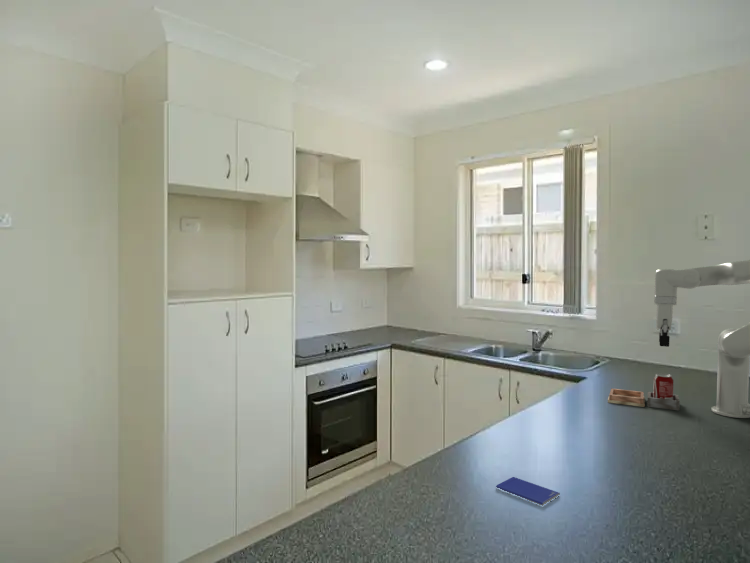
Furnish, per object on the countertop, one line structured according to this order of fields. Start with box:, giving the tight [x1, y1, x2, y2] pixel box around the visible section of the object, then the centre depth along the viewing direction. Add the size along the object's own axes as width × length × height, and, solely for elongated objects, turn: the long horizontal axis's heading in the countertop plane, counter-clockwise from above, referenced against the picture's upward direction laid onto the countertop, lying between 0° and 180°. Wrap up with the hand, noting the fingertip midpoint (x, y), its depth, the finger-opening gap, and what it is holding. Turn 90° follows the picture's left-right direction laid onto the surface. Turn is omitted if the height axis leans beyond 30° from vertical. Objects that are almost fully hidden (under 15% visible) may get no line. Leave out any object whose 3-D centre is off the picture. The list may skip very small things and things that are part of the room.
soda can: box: [652, 372, 674, 400], centre depth 199 cm, size 7×7×12 cm
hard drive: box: [495, 476, 561, 506], centre depth 122 cm, size 2×8×12 cm
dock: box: [607, 388, 681, 411], centre depth 202 cm, size 25×13×4 cm, turn 62°
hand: (664, 344), depth 198 cm, fingers open, 9 cm apart
